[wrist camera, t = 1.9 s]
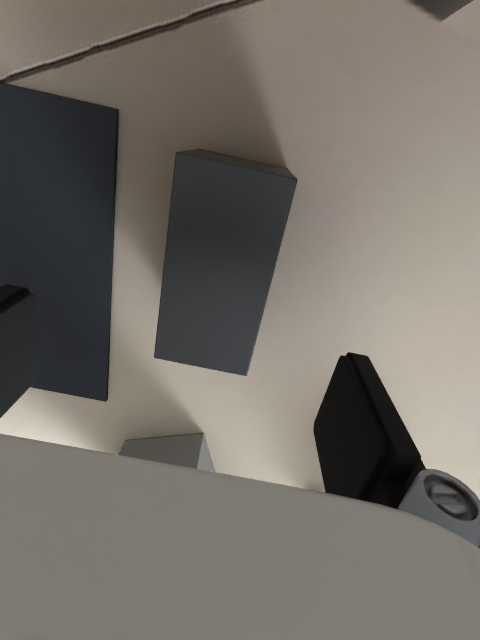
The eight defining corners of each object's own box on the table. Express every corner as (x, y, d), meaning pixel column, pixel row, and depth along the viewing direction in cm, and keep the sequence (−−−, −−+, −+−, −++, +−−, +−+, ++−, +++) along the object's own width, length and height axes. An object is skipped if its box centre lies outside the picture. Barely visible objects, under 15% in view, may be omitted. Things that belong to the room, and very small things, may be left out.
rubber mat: (-152, 47, 18) (-158, 46, 18) (118, 109, 19) (116, 109, 19) (-74, 364, 27) (-77, 366, 27) (107, 399, 28) (106, 401, 28)
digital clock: (196, 148, 19) (172, 150, 14) (288, 168, 20) (297, 179, 14) (175, 309, 24) (150, 357, 19) (249, 324, 24) (246, 376, 19)
